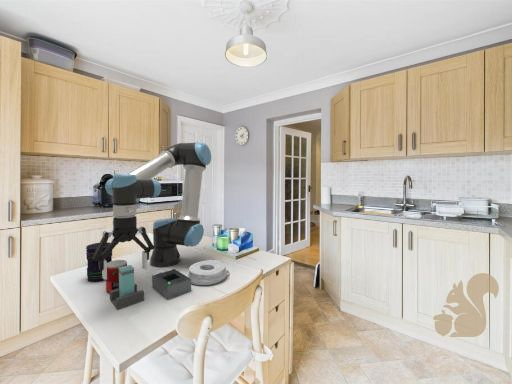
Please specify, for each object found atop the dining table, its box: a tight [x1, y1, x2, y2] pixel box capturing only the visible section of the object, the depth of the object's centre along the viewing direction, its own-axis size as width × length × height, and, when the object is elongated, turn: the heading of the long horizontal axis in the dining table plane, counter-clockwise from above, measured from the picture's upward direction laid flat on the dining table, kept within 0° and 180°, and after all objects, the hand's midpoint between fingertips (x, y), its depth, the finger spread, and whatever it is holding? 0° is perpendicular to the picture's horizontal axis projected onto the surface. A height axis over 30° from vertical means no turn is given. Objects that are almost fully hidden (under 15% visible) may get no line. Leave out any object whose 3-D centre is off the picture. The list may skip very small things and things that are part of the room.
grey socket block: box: [151, 268, 192, 300], centre depth 100 cm, size 14×10×6 cm
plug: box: [119, 264, 135, 297], centre depth 90 cm, size 4×4×12 cm
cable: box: [187, 259, 231, 286], centre depth 111 cm, size 18×18×6 cm
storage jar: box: [85, 241, 113, 283], centre depth 109 cm, size 10×10×15 cm
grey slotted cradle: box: [109, 283, 145, 311], centre depth 90 cm, size 9×9×4 cm
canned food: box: [105, 259, 128, 294], centre depth 99 cm, size 8×8×11 cm
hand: (125, 273), depth 89 cm, fingers open, 13 cm apart
